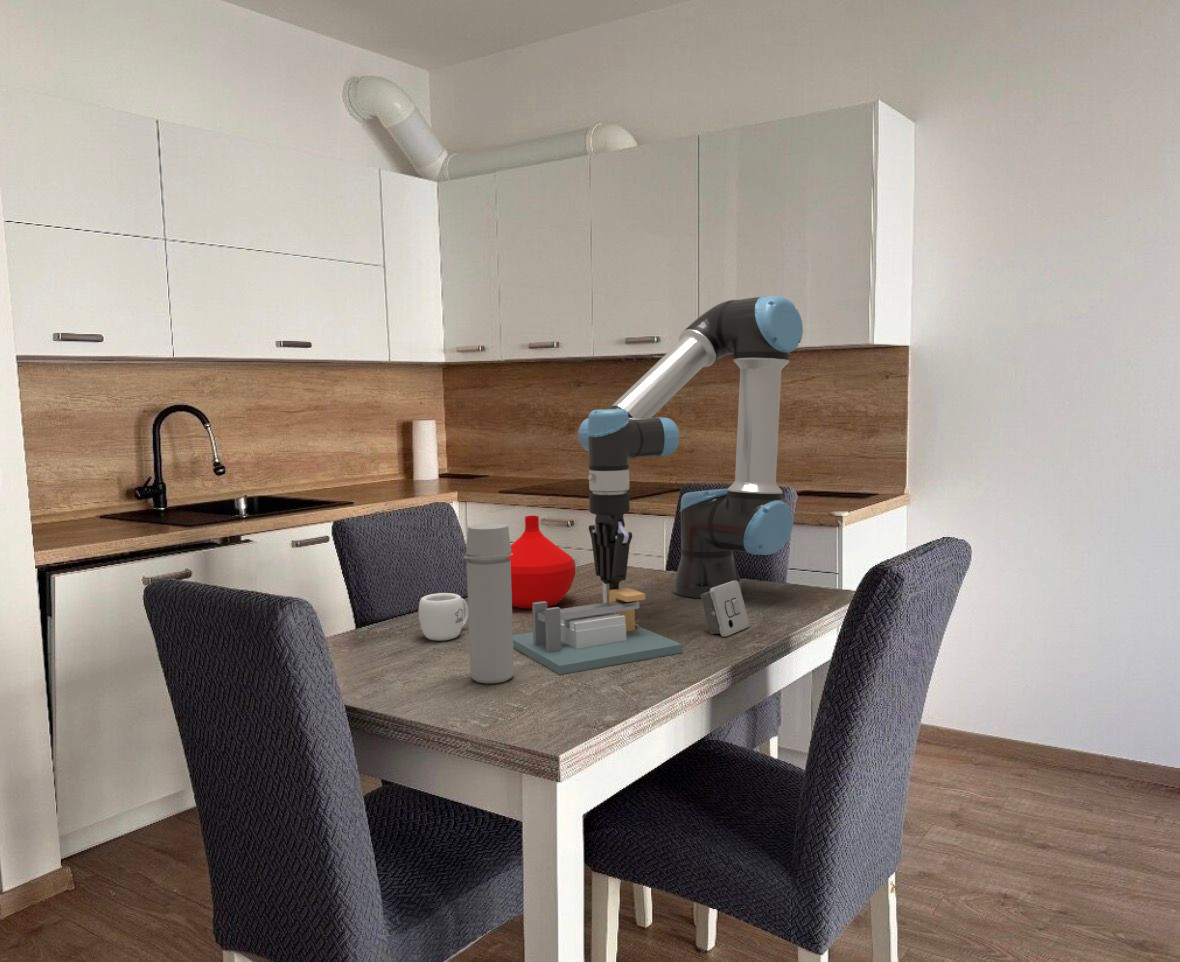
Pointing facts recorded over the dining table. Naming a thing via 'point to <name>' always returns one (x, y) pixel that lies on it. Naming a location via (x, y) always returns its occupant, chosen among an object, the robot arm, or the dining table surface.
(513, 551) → the vase
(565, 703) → the dining table surface
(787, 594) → the dining table surface
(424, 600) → the mug
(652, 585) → the dining table surface
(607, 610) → the grey long bar
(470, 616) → the water bottle
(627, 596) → the orange block
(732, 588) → the electrical switch
